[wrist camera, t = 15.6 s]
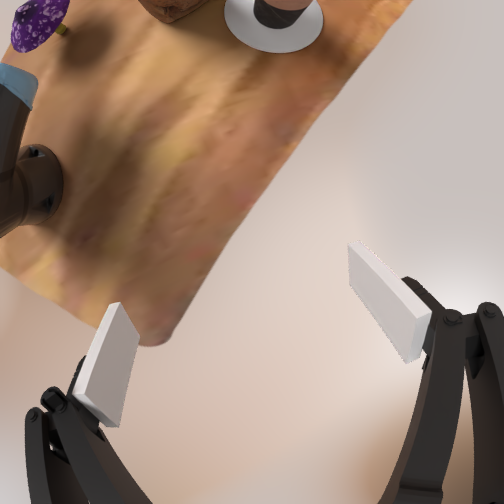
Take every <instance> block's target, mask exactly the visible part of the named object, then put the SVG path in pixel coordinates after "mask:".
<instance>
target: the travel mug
mask: <svg viewBox="0 0 504 504" xmlns="http://www.w3.org/2000/svg"><path fill="white" fill-rule="evenodd" d="M312 1H313V0H255V1H254V8H253V13H254V16H255V18H256V19H257V21H258V22H259V23H261V24H262V25H264V26H266V27H268V28H272V29H284V28H288V27H290V26H291V25H293V24H294V23H295V22H296V20H297V19H298V18H299V17H300V16H301V15H302V13H303V12H304V11H305V10H306V9H307V7H308V6H309V5H310V4H311V3H312Z"/></svg>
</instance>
